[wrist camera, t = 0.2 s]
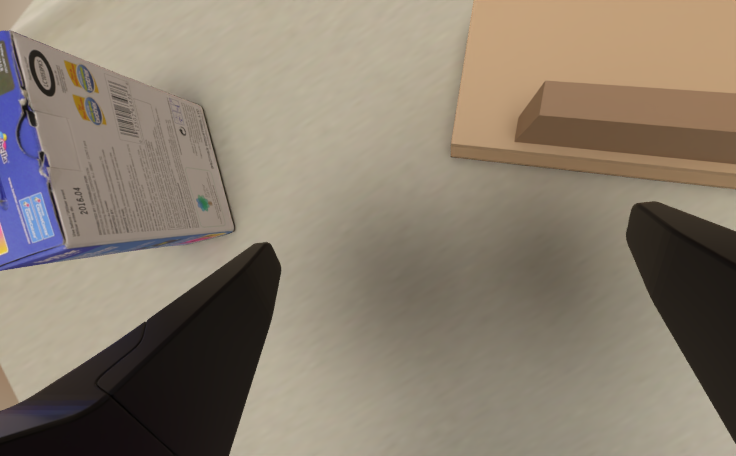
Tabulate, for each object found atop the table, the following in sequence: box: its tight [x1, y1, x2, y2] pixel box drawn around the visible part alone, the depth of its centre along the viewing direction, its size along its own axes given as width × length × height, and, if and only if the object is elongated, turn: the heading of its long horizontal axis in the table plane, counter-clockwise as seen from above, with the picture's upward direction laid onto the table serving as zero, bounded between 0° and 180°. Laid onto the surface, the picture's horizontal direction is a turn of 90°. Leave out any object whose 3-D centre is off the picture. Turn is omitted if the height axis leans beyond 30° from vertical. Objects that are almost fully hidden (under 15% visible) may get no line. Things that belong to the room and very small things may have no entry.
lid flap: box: [451, 0, 736, 177], centre depth 15 cm, size 16×8×6 cm, turn 82°
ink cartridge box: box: [0, 30, 234, 271], centre depth 21 cm, size 10×6×14 cm, turn 16°
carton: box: [451, 146, 736, 189], centre depth 19 cm, size 16×8×4 cm, turn 82°
